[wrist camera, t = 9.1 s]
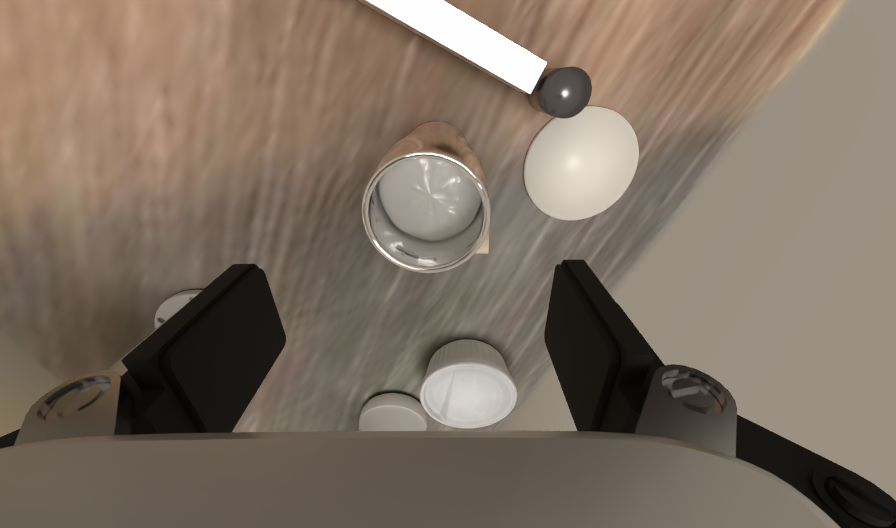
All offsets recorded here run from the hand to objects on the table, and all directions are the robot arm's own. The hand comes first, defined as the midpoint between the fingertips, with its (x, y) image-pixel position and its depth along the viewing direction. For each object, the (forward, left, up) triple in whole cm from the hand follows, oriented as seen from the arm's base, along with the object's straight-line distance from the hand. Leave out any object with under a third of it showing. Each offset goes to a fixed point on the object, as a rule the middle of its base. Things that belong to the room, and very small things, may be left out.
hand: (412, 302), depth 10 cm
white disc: (-1, -13, -22) cm, 26 cm away
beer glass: (0, 0, -22) cm, 22 cm away
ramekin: (-26, -3, -23) cm, 35 cm away
